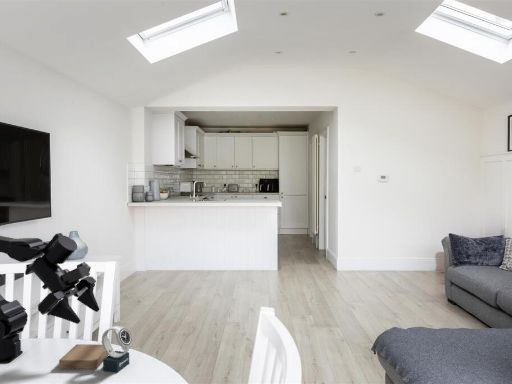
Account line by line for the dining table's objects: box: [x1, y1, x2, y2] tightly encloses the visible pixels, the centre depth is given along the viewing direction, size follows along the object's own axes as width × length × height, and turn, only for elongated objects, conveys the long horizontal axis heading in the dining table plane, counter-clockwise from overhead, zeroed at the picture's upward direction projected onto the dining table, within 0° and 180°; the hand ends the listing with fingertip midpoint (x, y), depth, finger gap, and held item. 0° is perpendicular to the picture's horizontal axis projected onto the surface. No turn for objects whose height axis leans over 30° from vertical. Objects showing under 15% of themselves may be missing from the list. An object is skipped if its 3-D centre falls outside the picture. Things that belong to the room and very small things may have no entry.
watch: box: [101, 325, 133, 374], centre depth 107 cm, size 6×8×11 cm
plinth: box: [58, 343, 109, 371], centre depth 111 cm, size 10×10×2 cm
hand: (89, 316), depth 108 cm, fingers open, 9 cm apart
